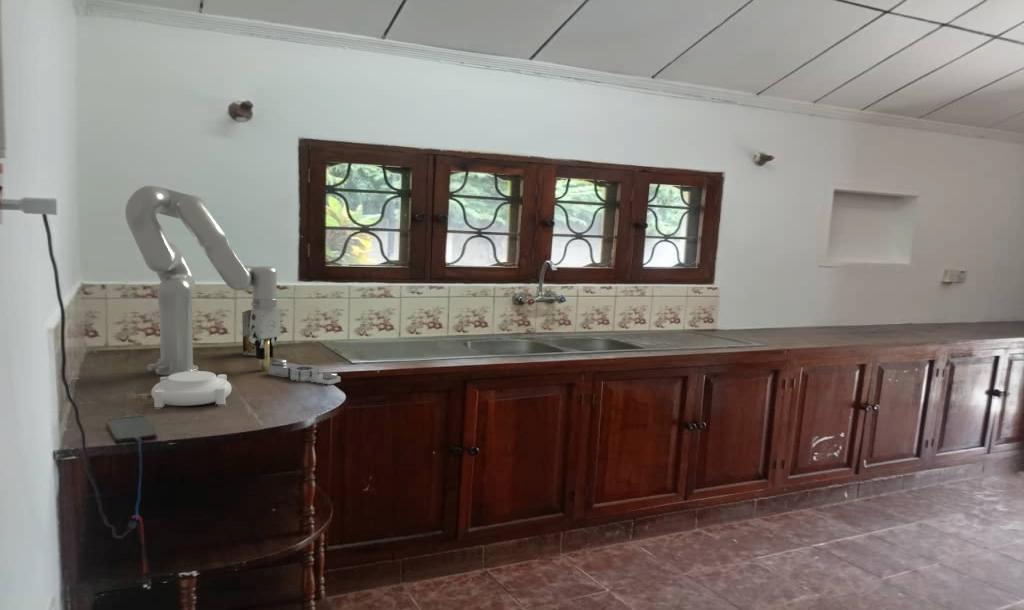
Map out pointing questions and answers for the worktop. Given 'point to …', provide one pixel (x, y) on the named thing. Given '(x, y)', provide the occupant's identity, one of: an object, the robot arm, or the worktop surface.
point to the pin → (266, 356)
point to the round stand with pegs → (191, 389)
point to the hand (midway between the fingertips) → (264, 357)
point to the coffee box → (247, 335)
